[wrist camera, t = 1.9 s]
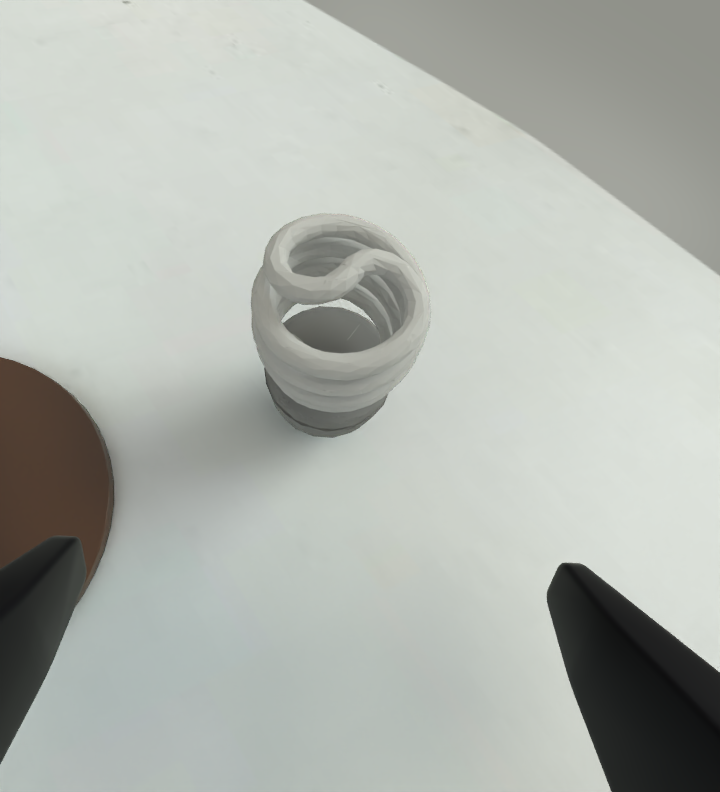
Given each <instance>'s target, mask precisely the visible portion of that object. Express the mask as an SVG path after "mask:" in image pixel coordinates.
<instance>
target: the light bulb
mask: <svg viewBox="0 0 720 792" xmlns="http://www.w3.org/2000/svg"><path fill="white" fill-rule="evenodd" d="M340 298H342V299H345V300H348V301H350V302H351V303H353V304H355V305H356V306H358V307H359V308H361V309H362V310H364V311H365V313H366V314H367V315H368V316H369V317H370V318H371V319H372V321H373V322H374V324H375V325H376V326H375V325H374V324H373V323H372V322H371V321H369V320H368V319H366V318H365V317H363V316H361V315H360V314H358V313H355V312H352V311H350V310H347V309H344V308H338V307H316V308H312V309H309V310H305V311H302V312H300V313H298V314H296V315H294V316H292V317H291V318H290V319H288V320H287V321H286V322H284V323H282V322H281V320H282V319H283V317H284V315H285V314H286V313H287V312H288V311H289V310H290V309H291V308H292V306H294V305H295V304H297V303H299V304H302V305H314V304H323V303H327V302H330V301H334V300H338V299H340ZM251 308H252V331H253V337H254V340H255V343H256V345H257V350H258V353H259V357H260V359H261V361H262V363H263V365H264V367H265V368H264V369H265V377H266V384H267V387H268V389H269V392H270V394H271V396H272V399H273V401H274V404H275V406H276V408H277V409H278V411H279V412H280V413H281V415H282V416H283V417H284V418H285V419H286V420H287V421H288V422H289V423H290V424H291V425H292V426H293V427H295V428H296V429H298V430H301V431H303V432H305V433H307V434H310V435H312V436H318V437H332V438H333V437H337V436H340V435H344V434H347V433H350V432H352V431H354V430H356V429H358V428H360V427H361V426H362V425H363V424H364V423H366V422H367V421H368V420H369V419H370V418H372V417H373V416H374V415H375V414H376V412H377V411H378V410H379V409H380V408H381V407H382V406H383V405H384V402H385V400H386V398H387V395H388V393H389V392H390V391H391V390H392V389H393V388H394V387H395V386H396V385H397V384H398V383H400V382H401V380H402V379H403V378H404V377H405V376H406V375H407V374H408V372H409V371H410V369H411V368H412V366H413V364H414V363H415V361H416V358H417V356H418V354H419V352H420V350H421V348H422V346H423V344H424V341H425V338H426V335H427V332H428V329H429V325H430V316H431V307H430V295H429V291H428V288H427V284H426V281H425V278H424V275H423V273H422V271H421V269H420V267H419V265H418V263H417V262H416V260H415V258H414V257H413V256H412V254H411V253H410V252H409V251H408V250H407V248H406V247H405V246H404V245H403V244H402V243H401V242H400V241H399V240H398V239H396V238H395V237H394V236H393V235H391V234H390V233H388V232H387V231H385V230H384V229H382V228H381V227H379V226H377V225H375V224H373V223H371V222H368V221H366V220H363V219H361V218H357V217H353V216H349V215H344V214H316V215H311V216H306V217H301V218H299V219H297V220H295V221H293V222H290V223H288V224H286V225H284V226H283V227H282V228H281V229H280V230H279V231H277V232H276V233H275V234H274V235H273V236H272V237H271V239H270V241H269V243H268V244H267V246H266V249H265V254H264V261H263V266H262V267H261V268H260V270H259V272H258V274H257V276H256V278H255V280H254V284H253V288H252V296H251Z"/></svg>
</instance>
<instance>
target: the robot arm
mask: <svg viewBox="0 0 720 792" xmlns="http://www.w3.org/2000/svg"><path fill="white" fill-rule="evenodd" d="M85 579H86V564H85V559H84V554H83V548H82V543H81V540H80V539H79V538H78V537H75V536H58V535H57V536H52V537H50V538H48V539H46V540H45V541H43V542H42V543H40V544H38V545H37V546H35V547H34V548H32V549H31V550H29V551H28V552H26V553H24V554H23V555H21V556H20V557H18V558H17V559H15V560H14V561H12V562H10V563H9V564H7V565H6V566H4V567H3V568H1V569H0V764H1V762H2V760H3V758H4V756H5V754H6V752H7V750H8V748H9V747H10V745H11V743H12V741H13V739H14V737H15V735H16V733H17V731H18V729H19V727H20V726H21V724H22V722H23V720H24V718H25V716H26V714H27V712H28V710H29V708H30V706H31V705H32V703H33V701H34V699H35V697H36V695H37V693H38V691H39V689H40V687H41V685H42V683H43V681H44V679H45V677H46V675H47V673H48V671H49V669H50V666H51V664H52V662H53V659H54V657H55V655H56V652H57V650H58V647H59V645H60V642H61V640H62V637H63V635H64V632H65V630H66V627H67V625H68V622H69V620H70V618H71V615H72V613H73V610H74V608H75V605H76V603H77V600H78V598H79V595H80V593H81V590H82V588H83V585H84V583H85ZM547 603H548V607H549V611H550V614H551V618H552V621H553V625H554V629H555V632H556V636H557V639H558V643H559V646H560V650H561V653H562V657H563V661H564V664H565V668H566V671H567V674H568V678H569V681H570V684H571V687H572V689H573V692H574V695H575V698H576V700H577V703H578V706H579V708H580V711H581V713H582V716H583V719H584V721H585V724H586V726H587V729H588V732H589V734H590V737H591V739H592V742H593V745H594V747H595V750H596V752H597V755H598V758H599V760H600V763H601V765H602V768H603V771H604V773H605V776H606V778H607V781H608V784H609V786H610V789H611V792H720V672H718V671H717V670H716V669H715V668H713V667H712V666H711V665H710V664H708V663H707V662H706V661H705V660H703V659H702V658H701V657H700V656H698V655H697V654H696V653H695V652H693V651H692V650H691V649H689V648H688V647H687V646H686V645H684V644H683V643H682V642H681V641H679V640H678V639H677V638H676V637H674V636H673V635H672V634H671V633H669V632H668V631H667V630H666V629H664V628H663V627H662V626H661V625H659V624H658V623H657V622H655V621H654V620H653V619H652V618H650V617H649V616H648V615H647V614H645V613H644V612H643V611H642V610H640V609H639V608H638V607H637V606H635V605H634V604H633V603H632V602H630V601H629V600H628V599H626V598H625V597H624V596H623V595H621V594H620V593H619V592H618V591H616V590H615V589H614V588H613V587H611V586H610V585H609V584H608V583H606V582H605V581H604V580H603V579H601V578H600V577H599V576H598V575H596V574H595V573H594V572H592V571H591V570H590V569H589V568H587V567H586V566H585V565H583V564H579V563H562V564H561V565H559V567H558V568H557V571H556V573H555V575H554V577H553V579H552V582H551V584H550V586H549V588H548V591H547Z"/></svg>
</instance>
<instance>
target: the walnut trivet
mask: <svg viewBox="0 0 720 792" xmlns="http://www.w3.org/2000/svg"><path fill="white" fill-rule="evenodd" d="M113 505H114V481H113V474H112V467H111V461H110V458H109V454H108V451H107V448H106V444H105V442H104V440H103V437H102V435H101V433H100V431H99V429H98V427H97V425H96V423H95V422H94V420H93V419H92V418H91V416H90V415H89V413H88V412H87V410H86V409H85V408H84V407H83V406H82V405H81V403H80V402H79V401H78V400H77V399H76V398H75V397H74V396H73V395H72V394H71V393H69V392H68V391H67V390H66V389H64V388H63V387H62V386H61V385H59V384H58V383H57V382H55V381H54V380H52V379H51V378H49V377H47V376H45V375H44V374H42V373H40V372H39V371H37V370H35V369H33V368H31V367H28V366H26V365H23V364H21V363H18V362H16V361H13V360H9V359H5V358H1V357H0V569H1V568H3V567H4V566H6V565H7V564H9V563H10V562H12V561H14V560H15V559H17V558H18V557H20V556H21V555H23V554H24V553H26V552H28V551H29V550H31V549H32V548H34V547H35V546H37V545H38V544H40V543H42V542H43V541H45V540H46V539H48V538H50V537H52V536H57V535H58V536H75V537H78V538H79V539H80V540H81V543H82V548H83V554H84V559H85V564H86V579H85V583H84V585H83V588H82V590H81V593H80V595H79V598H78V600H77V603H78V602H79V600H80V599H81V597H82V596H83V594H84V592H85V590H86V589H87V587H88V585H89V583H90V581H91V579H92V578H93V576H94V574H95V572H96V569H97V567H98V564H99V562H100V559H101V557H102V554H103V552H104V549H105V546H106V542H107V538H108V534H109V531H110V527H111V520H112V513H113ZM77 603H76V605H77ZM76 605H75V606H76Z"/></svg>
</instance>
